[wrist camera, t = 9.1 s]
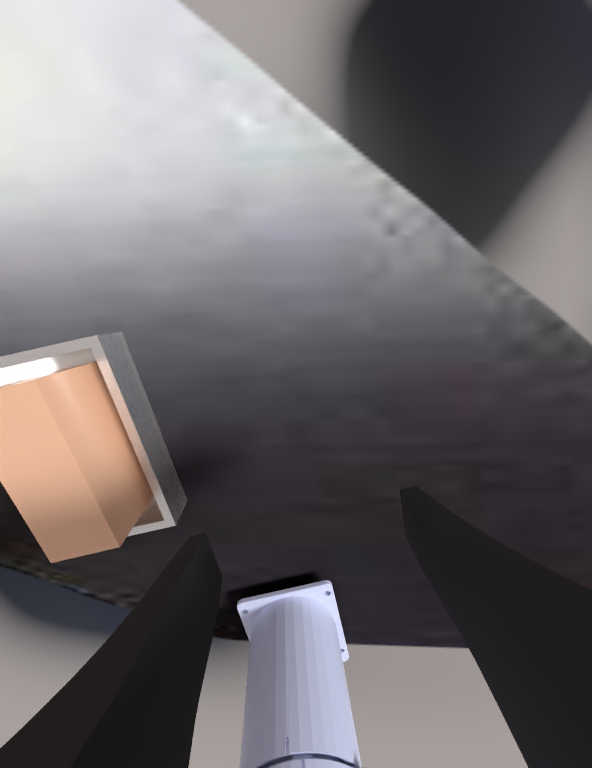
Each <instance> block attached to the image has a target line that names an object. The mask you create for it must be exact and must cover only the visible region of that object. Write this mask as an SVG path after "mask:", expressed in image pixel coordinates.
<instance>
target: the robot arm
mask: <svg viewBox="0 0 592 768" xmlns="http://www.w3.org/2000/svg"><path fill="white" fill-rule="evenodd" d="M400 495H401V503H402V510H403V518H404V526H405V534H406V537H407V539H408V541H409V543H410V545H411V548H412V550H413V552H414V554H415V556H416V558H417V560H418V562H419V564H420V566H421V568H422V570H423V571H424V573H425V575H426V576H427V578H428V580H429V582H430V583H431V585H432V587H433V588H434V590H435V592H436V593H437V595H438V597H439V598H440V600H441V602H442V603H443V605H444V607H445V608H446V610H447V612H448V613H449V615H450V617H451V618H452V620H453V622H454V624H455V625H456V627H457V629H458V630H459V632H460V634H461V635H462V637H463V639H464V640H465V642H466V644H467V646H468V648H469V649H470V651H471V653H472V655H473V657H474V658H475V660H476V662H477V664H478V666H479V668H480V670H481V672H482V674H483V676H484V678H485V680H486V682H487V684H488V686H489V688H490V690H491V692H492V694H493V696H494V698H495V700H496V702H497V704H498V706H499V708H500V710H501V712H502V714H503V716H504V718H505V720H506V722H507V724H508V726H509V728H510V731H511V733H512V735H513V737H514V739H515V741H516V743H517V745H518V747H519V749H520V751H521V753H522V755H523V757H524V759H525V761H526V763H527V765H528V768H592V590H590V589H588V588H586V587H584V586H582V585H580V584H578V583H575V582H573V581H571V580H569V579H567V578H565V577H563V576H561V575H559V574H557V573H555V572H553V571H551V570H549V569H547V568H546V567H544V566H542V565H540V564H538V563H536V562H534V561H532V560H530V559H529V558H527V557H525V556H523V555H521V554H519V553H518V552H516V551H514V550H512V549H510V548H509V547H507V546H505V545H504V544H502V543H500V542H499V541H497V540H495V539H494V538H492V537H490V536H489V535H487V534H486V533H484V532H482V531H481V530H479V529H478V528H476V527H475V526H473V525H472V524H470V523H469V522H467V521H466V520H464V519H463V518H461V517H460V516H458V515H457V514H455V513H454V512H452V511H451V510H449V509H448V508H447V507H445V506H444V505H442V504H441V503H439V502H438V501H437V500H435V499H434V498H432V497H431V496H430V495H428V494H427V493H425V492H424V491H423V490H421V489H420V488H418V487H417V486H415V487H410V488H406V489H402V490H400ZM221 581H222V575H221V572H220V569H219V567H218V564H217V561H216V559H215V556H214V554H213V551H212V548H211V546H210V543H209V540H208V538H207V535H206V533H205V534H200V535H196V536H192V537H189V538H188V539H187V541H186V542H185V543H184V544H183V546H182V547H181V548H180V550H179V551H178V552H177V554H176V555H175V556H174V558H173V559H172V560H171V561H170V563H169V564H168V565H167V567H166V568H165V569H164V571H163V572H162V573H161V575H160V576H159V577H158V578H157V580H156V581H155V582H154V584H153V585H152V586H151V587H150V589H149V590H148V591H147V593H146V594H145V595H144V596H143V598H142V599H141V600H140V601H139V603H138V604H137V605H136V606H135V607H134V609H133V610H132V611H131V612H130V614H129V615H128V616H127V617H126V618H125V620H124V621H123V622H122V623H121V624H120V626H119V627H118V628H117V629H116V631H115V632H114V633H113V634H112V635H111V636H110V637H109V638H108V640H107V641H106V642H105V643H104V644H103V645H102V646H101V648H100V649H99V650H98V651H97V652H96V653H95V654H94V655H93V656H92V657H91V658H90V659H89V661H88V662H87V663H86V664H85V665H84V666H83V667H82V668H81V669H80V670H79V671H78V672H77V673H76V675H75V676H74V677H73V678H72V679H71V680H70V681H69V682H68V683H67V684H66V685H65V686H64V687H63V688H62V689H61V690H60V691H59V692H58V693H57V694H56V695H55V696H54V697H53V698H52V699H51V700H50V701H49V702H48V703H47V704H46V705H45V706H44V707H43V708H42V709H41V710H40V711H39V712H38V713H37V714H36V715H35V716H34V717H33V718H32V719H31V720H30V721H29V722H28V723H27V724H26V725H25V726H24V727H23V728H22V729H21V730H19V731H18V732H17V733H16V734H15V735H14V736H13V737H12V738H11V739H10V740H9V741H8V742H7V743H6V744H5V745H4V746H2V747H1V748H0V768H188V766H189V759H190V752H191V746H192V738H193V732H194V724H195V718H196V713H197V708H198V702H199V697H200V693H201V688H202V683H203V679H204V674H205V669H206V665H207V660H208V656H209V651H210V647H211V642H212V637H213V633H214V628H215V623H216V619H217V614H218V608H219V600H220V591H221ZM237 610H238V612H239V615H240V618H241V620H242V623H243V626H244V628H245V631H246V634H247V636H248V639H249V641H250V651H249V663H248V675H247V686H246V699H245V710H244V721H243V734H242V744H241V745H242V746H241V757H240V768H362V767H361V761H360V755H359V750H358V744H357V739H356V733H355V727H354V722H353V716H352V711H351V705H350V700H349V694H348V688H347V683H346V678H345V672H344V666H343V662H345V661H347V660H348V658H349V655H348V650H347V646H346V642H345V638H344V633H343V629H342V625H341V621H340V616H339V612H338V608H337V604H336V600H335V595H334V591H333V587H332V583H331V582H330V581H328V580H324V581H320V582H315V583H311V584H306V585H302V586H297V587H293V588H288V589H284V590H279V591H275V592H270V593H266V594H262V595H257V596H253V597H248V598H244V599H240V600H239V601H238V603H237Z"/></svg>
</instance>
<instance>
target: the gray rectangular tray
mask: <svg viewBox="0 0 592 768" xmlns="http://www.w3.org/2000/svg"><path fill="white" fill-rule="evenodd" d="M94 361H97V363H98V366H99V368H100V370H101V373H102V375H103V377H104V380H105V382H106V385H107V387H108V389H109V392H110V394H111V396H112V399H113V401H114V403H115V406H116V408H117V410H118V413H119V415H120V417H121V420H122V422H123V424H124V427H125V429H126V431H127V434H128V436H129V439H130V441H131V443H132V446H133V448H134V450H135V453H136V455H137V457H138V460H139V462H140V464H141V467H142V469H143V471H144V474H145V476H146V478H147V481H148V483H149V486H150V488H151V490H152V493H153V495H154V496H153V498H152V499H151V501H150V502H149V504H148V505H147V507H146V508H145V510H144V511H143V513H142V515H141V516H140V518H139V519H138V521H137V522H136V524H135V525H134V527H133V528H132V530H131V531H130V533H129V534H128V536H131V535H136V534H140V533H145V532H149V531H154V530H158V529H162V528H167V527H171V526H176V524H177V522H178V520H179V518H180V516H181V514H182V512H183V509H184V507H185V505H186V503H187V498H186V496H185V493H184V490H183V488H182V485H181V483H180V480H179V477H178V475H177V472H176V470H175V467H174V465H173V462H172V459H171V457H170V454H169V452H168V449H167V447H166V444H165V441H164V439H163V436H162V434H161V431H160V428H159V426H158V423H157V421H156V418H155V416H154V413H153V410H152V408H151V405H150V403H149V400H148V398H147V395H146V392H145V390H144V387H143V385H142V382H141V379H140V377H139V374H138V372H137V369H136V367H135V364H134V361H133V359H132V356H131V354H130V351H129V349H128V346H127V343H126V341H125V338H124V336H123V333H122V331H120V332H114V333H107V334H101V335H95V336H91V337H86V338H82V339H77V340H73V341H68V342H64V343H60V344H55V345H51V346H46V347H42V348H37V349H33V350H28V351H24V352H19V353H15V354H11V355H6V356H2V357H0V386H1V385H4V384H8V383H11V382H15V381H18V380H22V379H25V378H29V377H33V376H36V375H40V374H44V373H48V372H52V371H56V370H61V369H65V368H69V367H73V366H78V365H82V364H86V363H90V362H94Z"/></svg>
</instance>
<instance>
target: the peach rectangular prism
mask: <svg viewBox="0 0 592 768" xmlns="http://www.w3.org/2000/svg"><path fill="white" fill-rule="evenodd" d="M0 481H1V483H2V484H3V486H4V488H5V489H6V491H7V493H8V494H9V496H10V497H11V499H12V501H13V502H14V504H15V506H16V507H17V509H18V510H19V512H20V514H21V515H22V517H23V519H24V520H25V522H26V523H27V525H28V527H29V528H30V530H31V532H32V533H33V535H34V536H35V538H36V540H37V541H38V543H39V545H40V546H41V548H42V549H43V551H44V553H45V554H46V556H47V558H48V559H49V561H50V562H51V563H54V562H58V561H62V560H67V559H71V558H75V557H79V556H84V555H88V554H92V553H97V552H101V551H105V550H109V549H114V548H118V547H120V546H121V545H122V543H123V542H124V540H125V539H126V537H127V536H128V534H129V533H130V531H131V530H132V528H133V527H134V525H135V524H136V522H137V521H138V519H139V518H140V516H141V515H142V513H143V511H144V510H145V508H146V507H147V505H148V504H149V502H150V501H151V499H152V498H153V496H154V495H153V493H152V490H151V488H150V486H149V483H148V481H147V478H146V476H145V474H144V471H143V469H142V467H141V464H140V462H139V460H138V457H137V455H136V453H135V450H134V448H133V446H132V443H131V441H130V439H129V436H128V434H127V431H126V429H125V427H124V424H123V422H122V420H121V417H120V415H119V413H118V410H117V408H116V406H115V403H114V401H113V399H112V396H111V394H110V392H109V389H108V387H107V385H106V382H105V380H104V377H103V375H102V373H101V370H100V368H99V366H98V363H97V361H94V362H90V363H86V364H82V365H78V366H73V367H69V368H65V369H61V370H56V371H52V372H48V373H44V374H40V375H36V376H33V377H29V378H25V379H22V380H18V381H15V382H11V383H8V384H4V385H1V386H0Z"/></svg>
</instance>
